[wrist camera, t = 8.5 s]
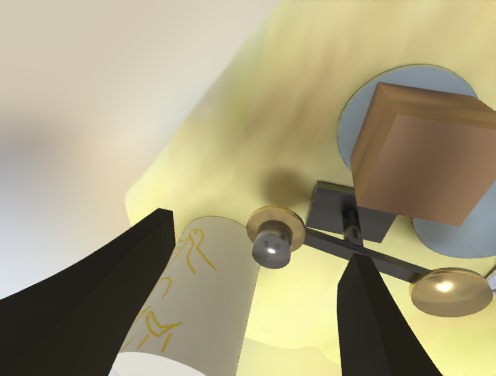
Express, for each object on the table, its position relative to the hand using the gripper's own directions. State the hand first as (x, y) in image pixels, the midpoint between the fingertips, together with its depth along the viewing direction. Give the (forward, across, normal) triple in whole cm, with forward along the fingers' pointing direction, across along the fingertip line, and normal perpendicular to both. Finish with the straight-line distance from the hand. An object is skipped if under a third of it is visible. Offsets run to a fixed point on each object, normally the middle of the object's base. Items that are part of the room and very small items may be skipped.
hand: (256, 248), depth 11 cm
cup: (+11, +4, +13) cm, 17 cm away
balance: (+10, -6, +5) cm, 13 cm away
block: (+10, -7, -2) cm, 12 cm away
